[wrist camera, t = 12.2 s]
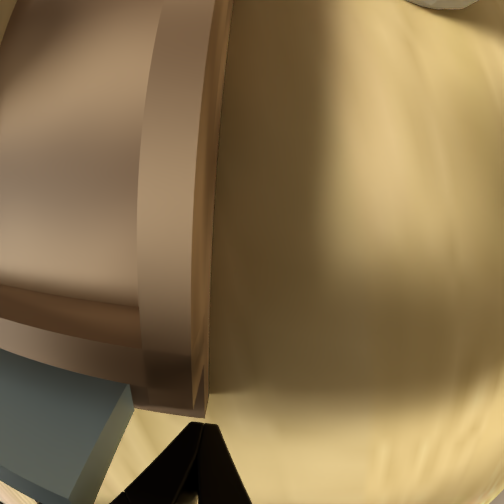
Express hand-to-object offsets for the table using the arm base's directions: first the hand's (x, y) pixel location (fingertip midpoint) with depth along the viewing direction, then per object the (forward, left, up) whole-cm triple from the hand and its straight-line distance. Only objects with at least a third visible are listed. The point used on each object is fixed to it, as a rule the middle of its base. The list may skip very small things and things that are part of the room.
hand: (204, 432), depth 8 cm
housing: (+8, +16, -2) cm, 18 cm away
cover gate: (0, +8, -1) cm, 8 cm away
